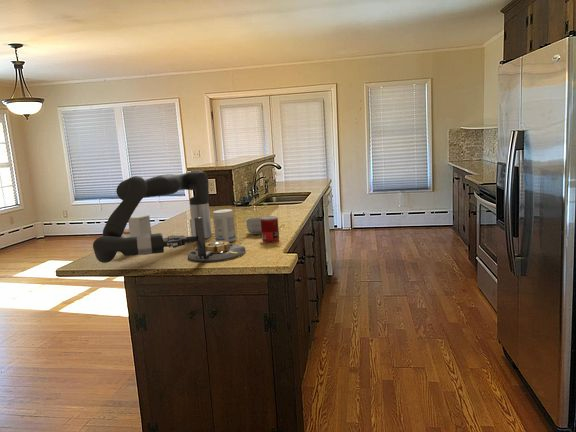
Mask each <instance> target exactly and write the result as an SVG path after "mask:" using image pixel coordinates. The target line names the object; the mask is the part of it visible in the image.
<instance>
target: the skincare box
mask: <svg viewBox="0 0 576 432" xmlns="http://www.w3.org/2000/svg"><path fill="white" fill-rule="evenodd" d="M127 224H128V229H129V231H130V237H137V236H141V235H149V234H153V233H152V227H151V219H150V214H145V215H143V214H142V215H135V216H131V217H130V219H129V221H128V223H127Z"/></svg>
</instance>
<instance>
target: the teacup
mask: <svg viewBox="0 0 576 432" xmlns="http://www.w3.org/2000/svg"><path fill="white" fill-rule="evenodd" d="M262 217H263V216H259V217H257V216H256V217H250V218H246V219H245V220H246V221H245V222H246V229H247V231H248V233H249V234H251V235H262V231H261V218H262Z"/></svg>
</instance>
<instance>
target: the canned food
mask: <svg viewBox="0 0 576 432" xmlns="http://www.w3.org/2000/svg"><path fill="white" fill-rule="evenodd" d="M261 217H262V218H261V231H262V234H261V240H262V242H263V243H268V242H269V243H277V242H279V240H280V233H279V218H278V216H276V215H275V216H274V215H267V216H261Z"/></svg>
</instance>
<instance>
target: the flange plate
mask: <svg viewBox="0 0 576 432" xmlns="http://www.w3.org/2000/svg"><path fill="white" fill-rule="evenodd" d="M211 242H212V243H210V246H218V245H222V242H216V241H215V242H214V241H211ZM245 253H246V247H245V246H243V245H240V244H235V243H234V244H232V243H230V249H229V250H227V251H224V252H219V253H217V252H215V253H212V254H210V255H208V256H206V258H204V259H199V258H198V250H197V247H196V248H194V249H192V250H190V251H189V252H188V253H187V259H188V260H189V261H192V262H198V263H213V262H223V261H228V260H233V259H236V258H239V256H240V257H241V255H242V256H243V255H245Z"/></svg>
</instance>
